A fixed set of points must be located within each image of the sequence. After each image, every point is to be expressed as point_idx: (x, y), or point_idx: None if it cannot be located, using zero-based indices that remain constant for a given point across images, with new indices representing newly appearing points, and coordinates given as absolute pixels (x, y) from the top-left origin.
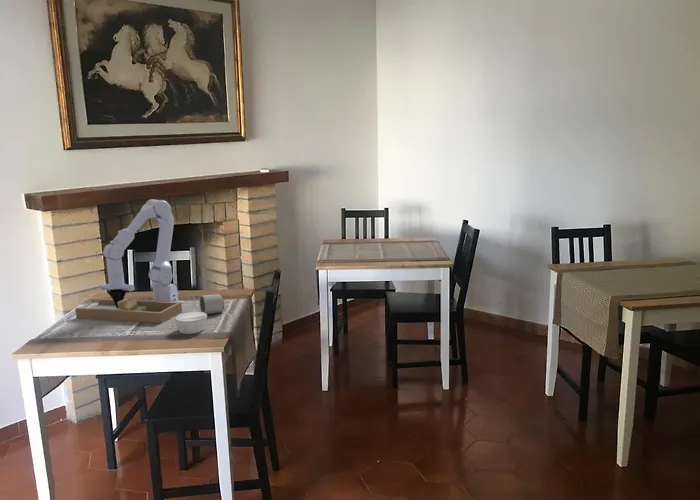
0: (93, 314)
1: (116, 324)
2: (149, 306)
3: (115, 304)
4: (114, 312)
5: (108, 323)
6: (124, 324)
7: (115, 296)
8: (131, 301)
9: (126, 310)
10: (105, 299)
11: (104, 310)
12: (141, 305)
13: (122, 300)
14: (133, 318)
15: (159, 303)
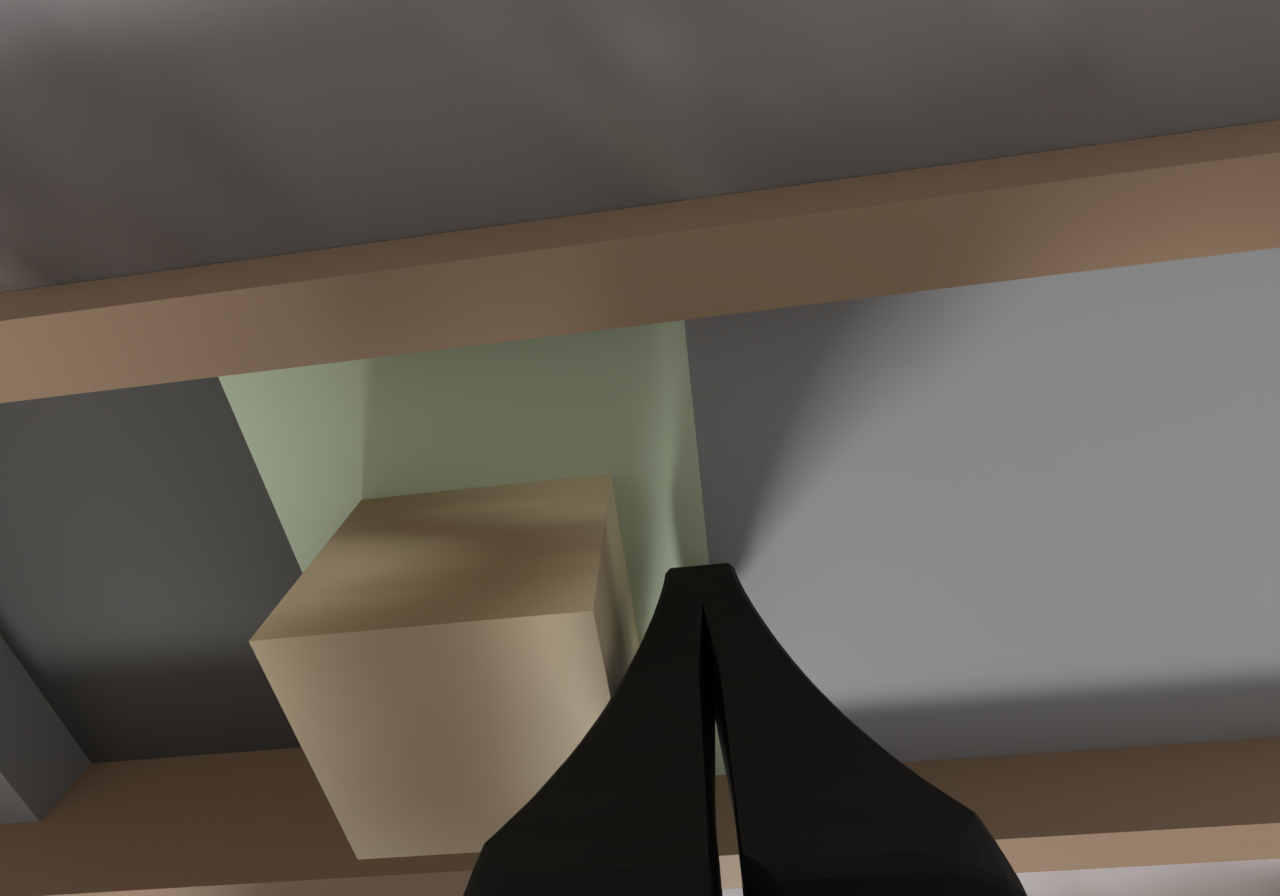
0: (1084, 157)
1: (240, 5)
2: None
3: (737, 603)
4: (446, 255)
5: (475, 7)
6: (84, 68)
7: (678, 766)
8: (299, 732)
9: (140, 371)
10: (1278, 835)
11: (756, 222)
12: None
13: None
14: (46, 295)
15: (135, 870)
